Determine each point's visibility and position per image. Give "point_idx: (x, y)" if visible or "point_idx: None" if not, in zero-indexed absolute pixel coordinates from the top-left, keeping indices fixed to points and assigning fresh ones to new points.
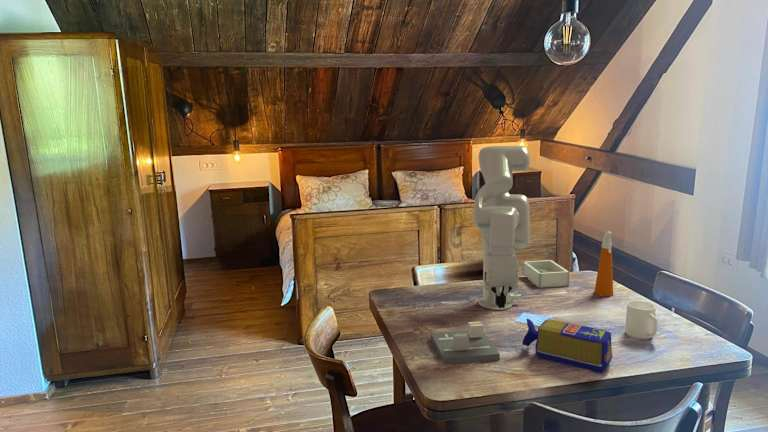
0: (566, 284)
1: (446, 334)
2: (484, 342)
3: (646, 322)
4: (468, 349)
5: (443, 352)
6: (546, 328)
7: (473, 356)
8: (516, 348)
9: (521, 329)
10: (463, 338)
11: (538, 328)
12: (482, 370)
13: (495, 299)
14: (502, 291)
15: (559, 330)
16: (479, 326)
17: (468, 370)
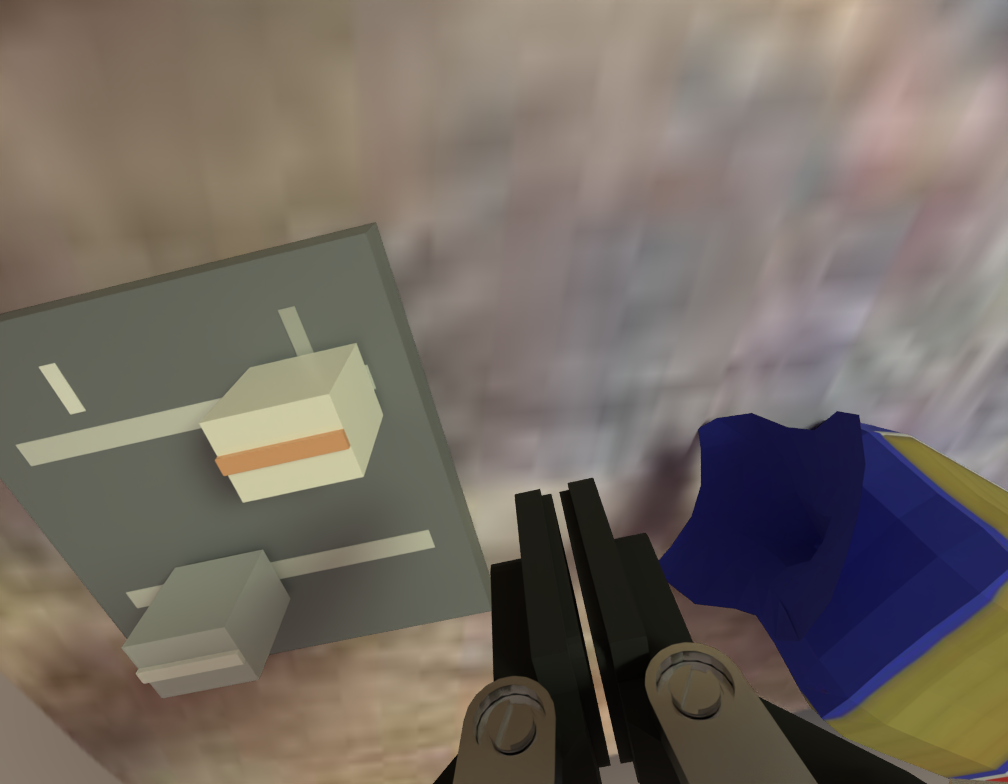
0: None
1: (55, 368)
2: (396, 481)
3: None
4: (289, 599)
5: (133, 623)
6: (885, 742)
7: (331, 639)
8: (624, 437)
9: (780, 52)
10: (222, 681)
11: (824, 719)
12: (392, 670)
13: (493, 613)
14: (665, 765)
15: (965, 768)
16: (328, 479)
17: (321, 675)
